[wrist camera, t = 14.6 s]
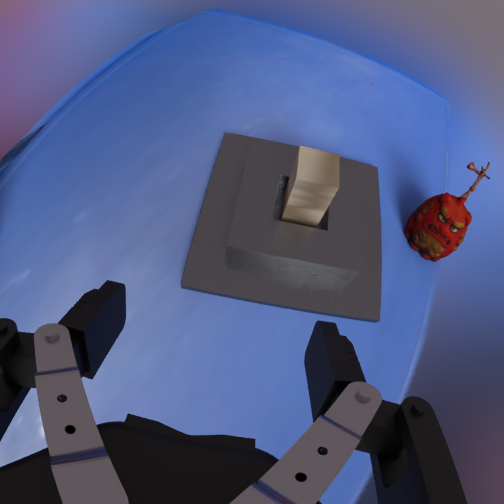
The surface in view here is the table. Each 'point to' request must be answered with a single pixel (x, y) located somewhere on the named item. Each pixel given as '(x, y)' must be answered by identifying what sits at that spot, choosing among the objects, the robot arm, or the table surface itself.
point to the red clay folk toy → (441, 222)
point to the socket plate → (287, 236)
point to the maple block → (310, 187)
